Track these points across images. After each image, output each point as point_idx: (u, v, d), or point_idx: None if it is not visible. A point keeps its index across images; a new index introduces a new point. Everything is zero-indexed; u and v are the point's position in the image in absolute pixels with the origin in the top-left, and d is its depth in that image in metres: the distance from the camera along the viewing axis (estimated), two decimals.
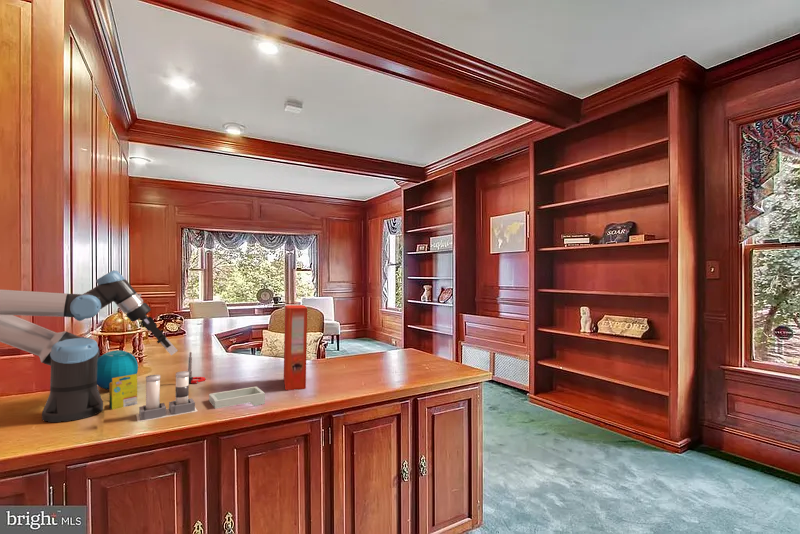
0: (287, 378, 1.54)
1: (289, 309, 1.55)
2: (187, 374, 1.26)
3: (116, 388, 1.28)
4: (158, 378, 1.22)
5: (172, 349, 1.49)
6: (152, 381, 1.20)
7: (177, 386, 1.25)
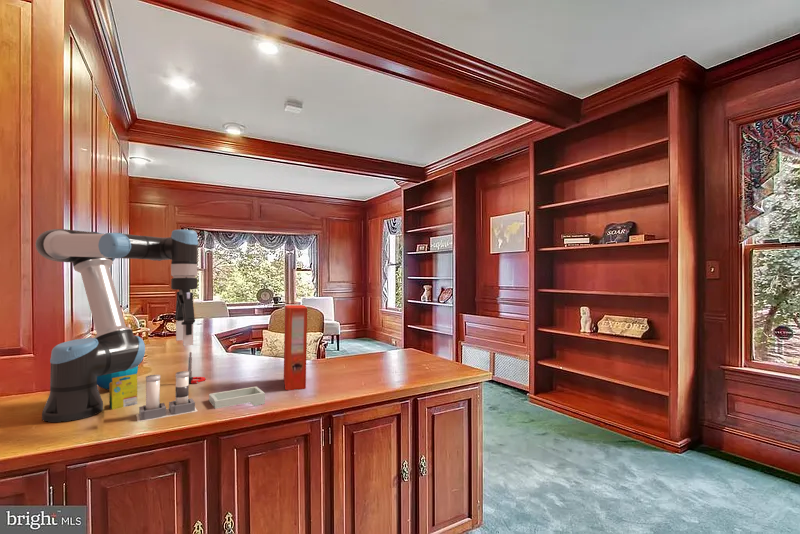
0: (287, 378, 1.54)
1: (289, 309, 1.55)
2: (187, 374, 1.26)
3: (116, 388, 1.28)
4: (158, 378, 1.22)
5: (189, 340, 1.23)
6: (152, 381, 1.20)
7: (177, 386, 1.25)
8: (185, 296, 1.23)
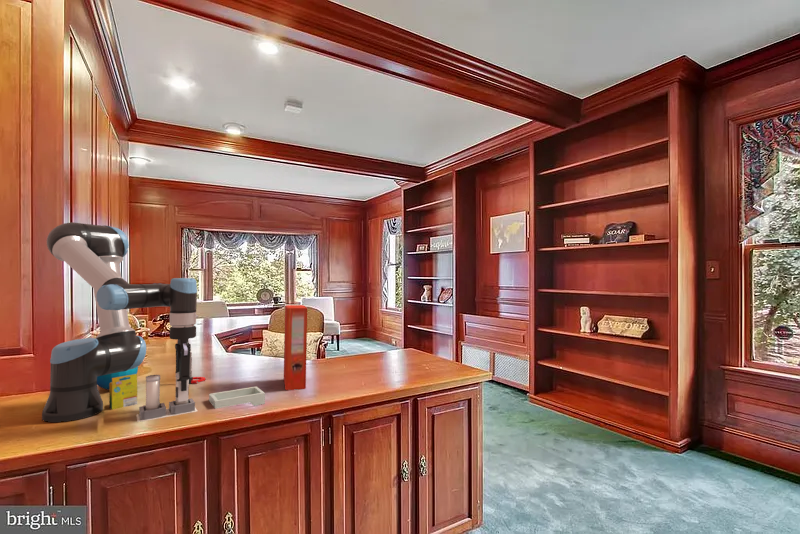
0: (287, 378, 1.54)
1: (289, 309, 1.55)
2: None
3: (116, 388, 1.28)
4: (158, 378, 1.22)
5: (184, 395, 1.25)
6: (152, 381, 1.20)
7: (177, 386, 1.25)
8: (182, 353, 1.21)
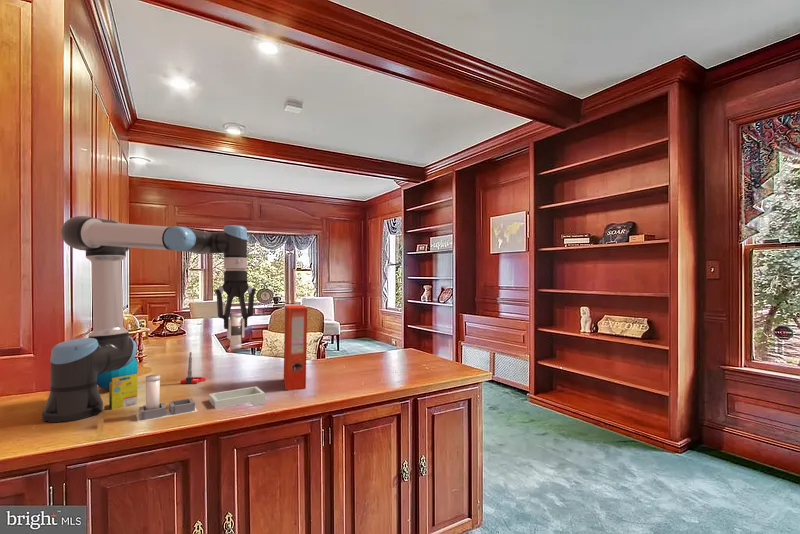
0: (287, 378, 1.54)
1: (289, 309, 1.55)
2: (232, 315, 1.35)
3: (116, 388, 1.28)
4: (158, 378, 1.22)
5: (228, 334, 1.35)
6: (152, 381, 1.20)
7: None
8: (215, 293, 1.34)
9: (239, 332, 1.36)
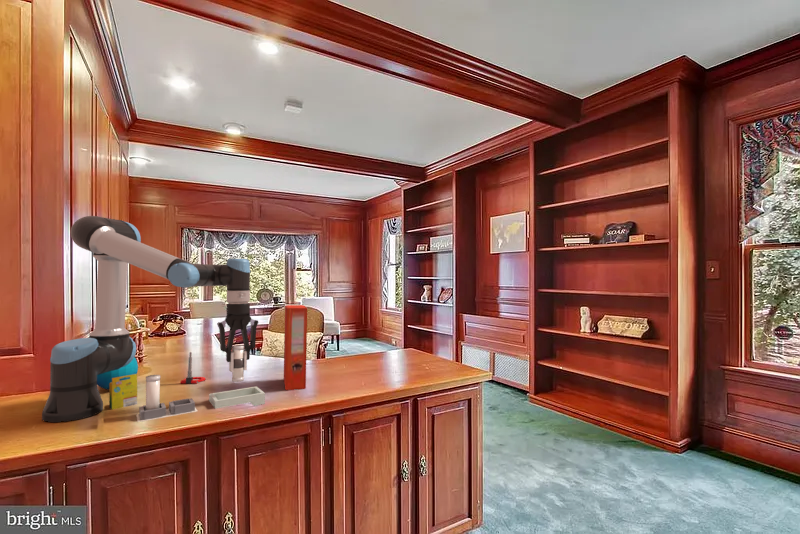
0: (287, 378, 1.54)
1: (289, 309, 1.55)
2: (235, 348, 1.36)
3: (116, 388, 1.28)
4: (158, 378, 1.22)
5: (230, 366, 1.36)
6: (152, 381, 1.20)
7: None
8: (218, 326, 1.35)
9: (241, 365, 1.36)
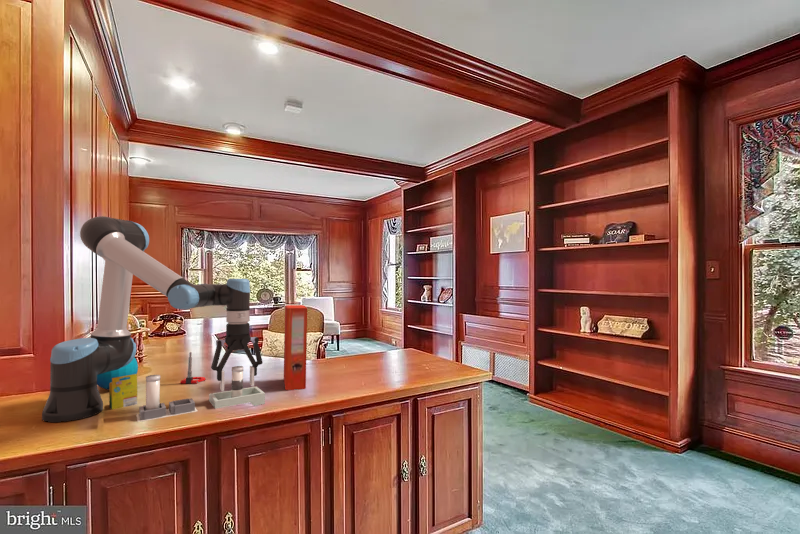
0: (287, 378, 1.54)
1: (289, 309, 1.55)
2: (234, 370, 1.35)
3: (116, 388, 1.28)
4: (158, 378, 1.22)
5: (221, 385, 1.34)
6: (152, 381, 1.20)
7: None
8: (216, 344, 1.34)
9: (241, 386, 1.36)
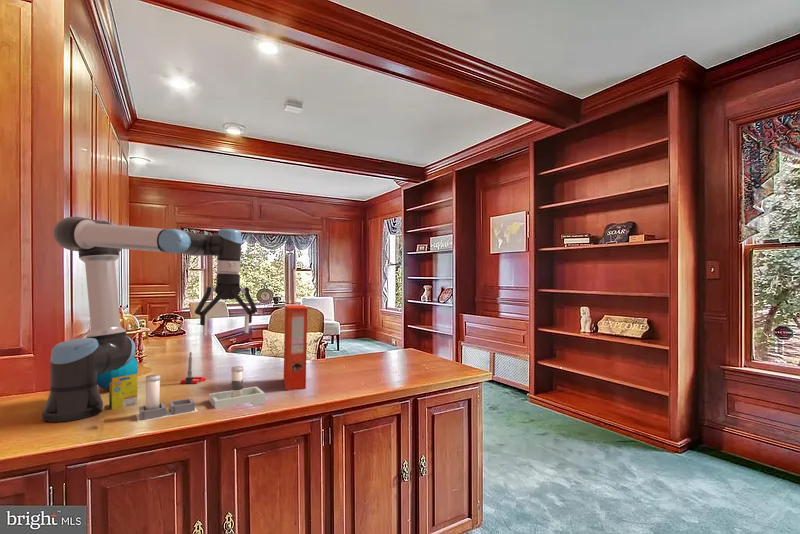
0: (287, 378, 1.54)
1: (289, 309, 1.55)
2: (234, 370, 1.35)
3: (116, 388, 1.28)
4: (158, 378, 1.22)
5: (204, 330, 1.34)
6: (152, 381, 1.20)
7: None
8: None
9: (240, 386, 1.36)
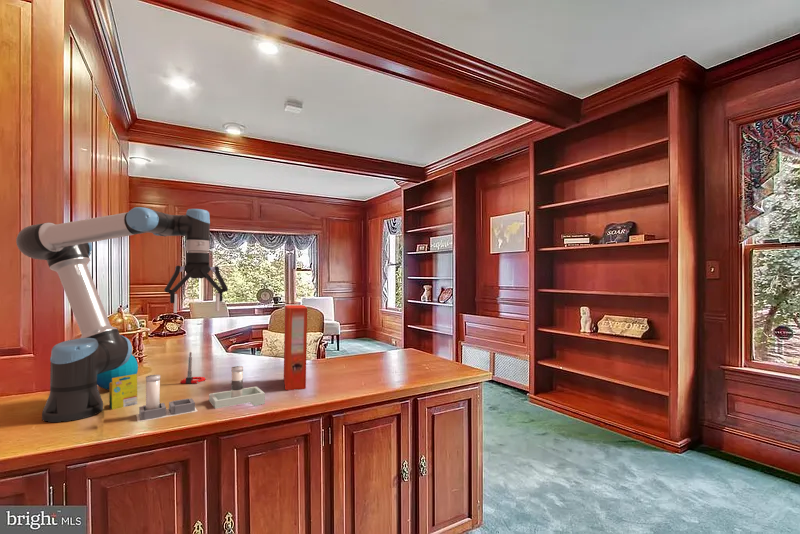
0: (287, 378, 1.54)
1: (289, 309, 1.55)
2: (234, 370, 1.35)
3: (116, 388, 1.28)
4: (158, 378, 1.22)
5: (174, 308, 1.37)
6: (152, 381, 1.20)
7: None
8: (175, 269, 1.38)
9: (240, 386, 1.36)
